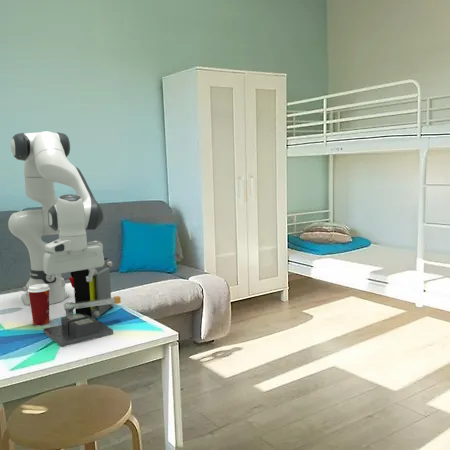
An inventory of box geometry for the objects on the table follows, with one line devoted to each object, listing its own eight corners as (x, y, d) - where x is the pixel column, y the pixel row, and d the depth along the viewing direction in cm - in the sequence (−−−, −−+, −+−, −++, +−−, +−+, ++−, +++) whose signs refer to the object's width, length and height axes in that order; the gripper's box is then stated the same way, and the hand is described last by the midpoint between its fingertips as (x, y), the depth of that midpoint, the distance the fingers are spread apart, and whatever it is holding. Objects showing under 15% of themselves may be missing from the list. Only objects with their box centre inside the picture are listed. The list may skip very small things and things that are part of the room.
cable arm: (65, 311, 177) (64, 305, 177) (64, 308, 180) (63, 302, 180) (120, 303, 185) (120, 297, 185) (119, 301, 188) (118, 295, 188)
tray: (43, 333, 176) (42, 315, 175) (92, 321, 187) (91, 304, 186) (61, 346, 163) (60, 327, 162) (113, 333, 174) (112, 315, 173)
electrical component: (96, 320, 188) (93, 268, 185) (71, 319, 190) (68, 267, 187) (116, 306, 205) (113, 258, 202) (92, 305, 207) (89, 257, 204)
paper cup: (56, 322, 187) (53, 285, 185) (36, 328, 181) (33, 290, 179) (45, 318, 192) (43, 282, 190) (26, 323, 187) (23, 286, 185)
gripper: (98, 238, 178) (100, 277, 180) (39, 246, 166) (43, 287, 168) (106, 240, 173) (108, 280, 175) (46, 248, 161) (49, 290, 163)
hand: (76, 283), depth 171 cm, fingers open, 8 cm apart
